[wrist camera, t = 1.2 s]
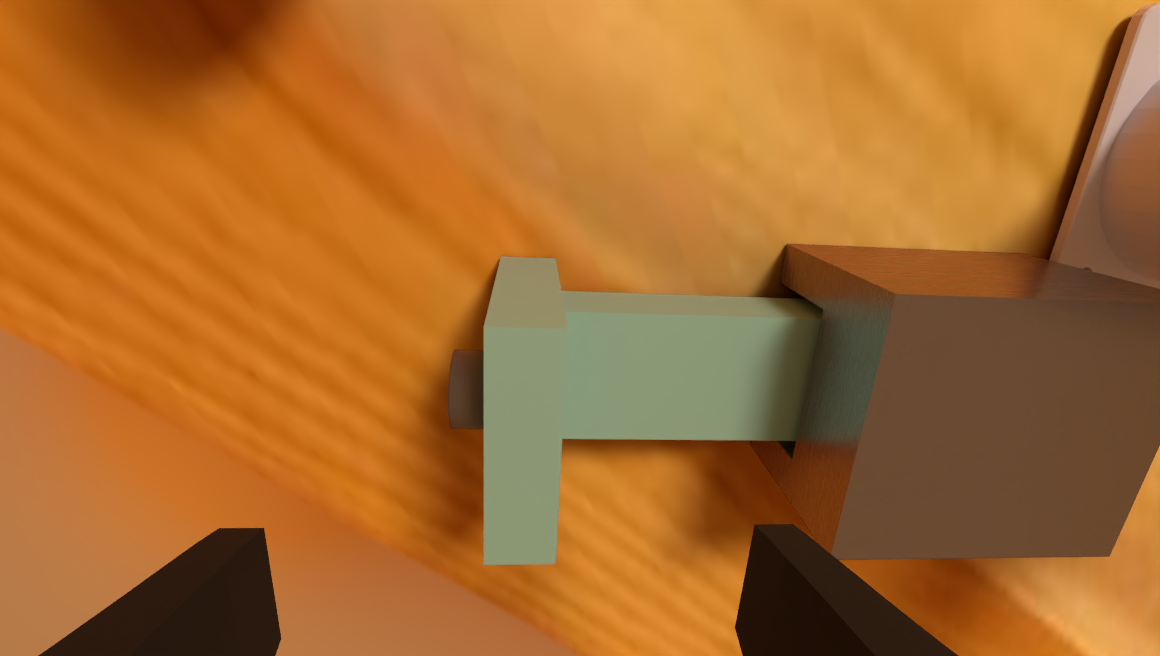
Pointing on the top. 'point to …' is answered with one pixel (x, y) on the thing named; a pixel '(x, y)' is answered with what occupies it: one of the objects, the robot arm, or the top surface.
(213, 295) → the top surface
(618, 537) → the top surface
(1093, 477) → the block
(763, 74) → the top surface
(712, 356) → the handle
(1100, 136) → the robot arm
